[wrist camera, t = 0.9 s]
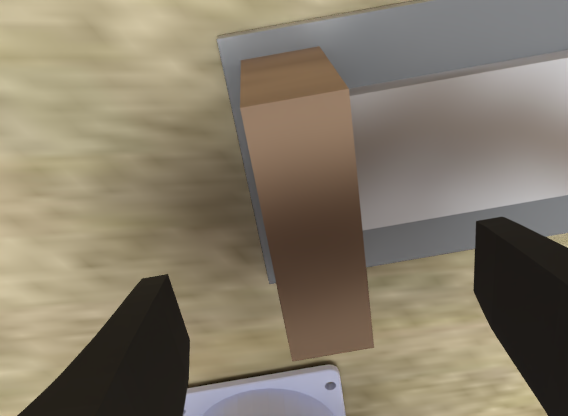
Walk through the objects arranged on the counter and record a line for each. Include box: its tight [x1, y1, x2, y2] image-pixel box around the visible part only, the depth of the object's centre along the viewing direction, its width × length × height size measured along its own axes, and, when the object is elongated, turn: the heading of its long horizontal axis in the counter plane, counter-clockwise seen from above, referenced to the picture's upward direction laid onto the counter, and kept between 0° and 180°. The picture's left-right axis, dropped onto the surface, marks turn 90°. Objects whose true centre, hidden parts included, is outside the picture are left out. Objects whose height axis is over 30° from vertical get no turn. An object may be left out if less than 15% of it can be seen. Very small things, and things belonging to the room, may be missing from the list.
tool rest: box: [217, 0, 568, 284], centre depth 18 cm, size 10×14×1 cm
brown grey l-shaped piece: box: [240, 46, 568, 361], centre depth 15 cm, size 8×12×5 cm, turn 99°
